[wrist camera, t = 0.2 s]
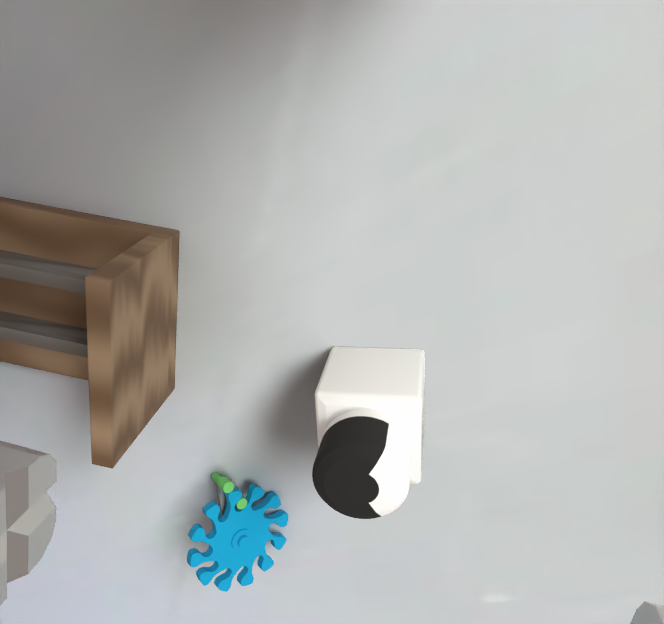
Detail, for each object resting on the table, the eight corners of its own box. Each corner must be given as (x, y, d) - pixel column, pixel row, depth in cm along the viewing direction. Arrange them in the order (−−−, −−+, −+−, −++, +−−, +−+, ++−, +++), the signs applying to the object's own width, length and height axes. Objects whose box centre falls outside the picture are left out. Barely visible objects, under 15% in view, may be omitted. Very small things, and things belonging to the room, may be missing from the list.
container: (335, 423, 55) (305, 528, 43) (331, 344, 52) (297, 435, 40) (424, 427, 53) (417, 538, 42) (425, 347, 50) (418, 442, 38)
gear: (296, 565, 60) (200, 614, 55) (267, 537, 65) (176, 579, 60) (285, 463, 57) (182, 504, 52) (255, 441, 62) (158, 477, 57)
